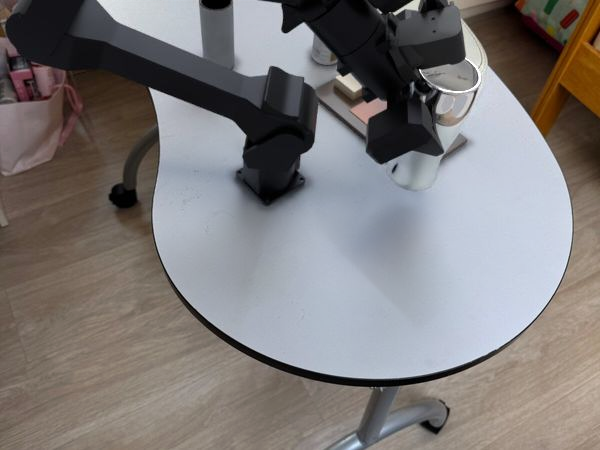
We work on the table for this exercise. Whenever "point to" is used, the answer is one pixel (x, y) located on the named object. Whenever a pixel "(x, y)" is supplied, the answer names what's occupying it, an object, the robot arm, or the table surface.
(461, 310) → the table surface
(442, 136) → the silver metal cup
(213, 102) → the robot arm
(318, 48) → the pill bottle
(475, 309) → the table surface
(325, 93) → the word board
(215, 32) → the light grey cylinder
